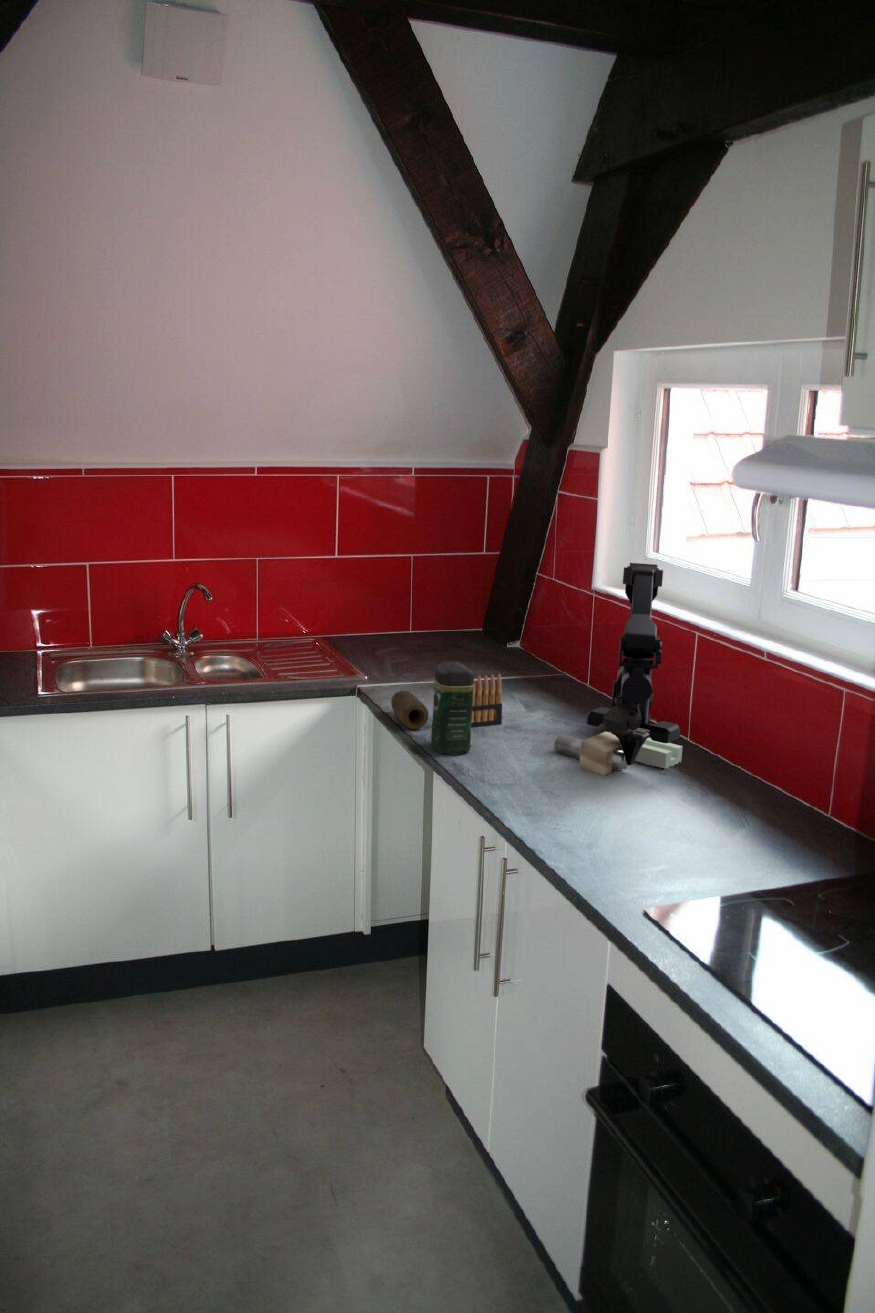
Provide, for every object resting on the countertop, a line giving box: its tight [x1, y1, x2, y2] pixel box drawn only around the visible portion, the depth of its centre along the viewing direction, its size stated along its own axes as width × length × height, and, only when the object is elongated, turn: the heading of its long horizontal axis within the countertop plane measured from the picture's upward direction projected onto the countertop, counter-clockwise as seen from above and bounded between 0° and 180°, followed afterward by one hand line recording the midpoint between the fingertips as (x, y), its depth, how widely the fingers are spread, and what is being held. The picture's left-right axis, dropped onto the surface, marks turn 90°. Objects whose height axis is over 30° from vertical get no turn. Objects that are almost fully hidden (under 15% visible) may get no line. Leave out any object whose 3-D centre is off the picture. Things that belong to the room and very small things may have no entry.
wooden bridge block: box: [578, 731, 623, 776], centre depth 228 cm, size 11×6×6 cm, turn 140°
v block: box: [634, 737, 684, 769], centre depth 233 cm, size 7×10×4 cm
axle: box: [553, 733, 629, 772], centre depth 231 cm, size 16×4×4 cm, turn 50°
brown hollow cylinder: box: [390, 690, 429, 730], centre depth 252 cm, size 15×7×7 cm, turn 18°
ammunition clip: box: [471, 673, 503, 729], centre depth 251 cm, size 11×2×12 cm, turn 117°
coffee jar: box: [430, 661, 475, 755], centre depth 233 cm, size 10×8×19 cm
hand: (629, 764), depth 225 cm, fingers closed
